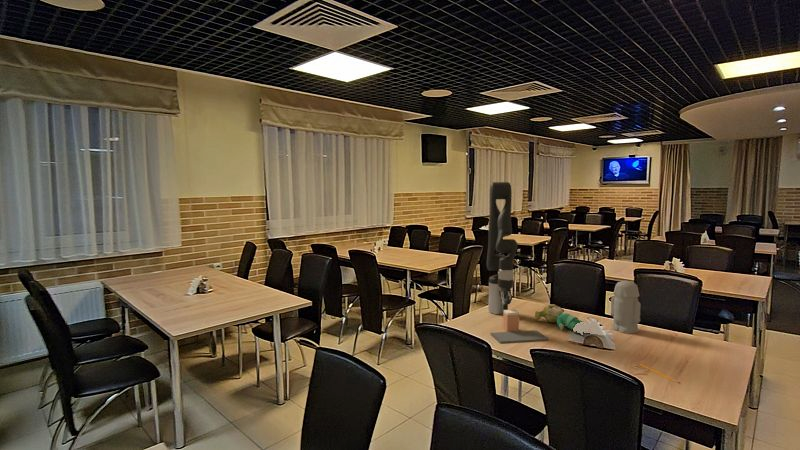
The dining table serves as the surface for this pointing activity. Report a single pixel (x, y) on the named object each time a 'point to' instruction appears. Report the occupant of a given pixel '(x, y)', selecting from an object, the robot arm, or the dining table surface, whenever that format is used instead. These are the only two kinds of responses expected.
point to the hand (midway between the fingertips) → (505, 311)
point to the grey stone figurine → (625, 307)
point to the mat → (519, 336)
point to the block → (511, 320)
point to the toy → (557, 316)
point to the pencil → (656, 372)
